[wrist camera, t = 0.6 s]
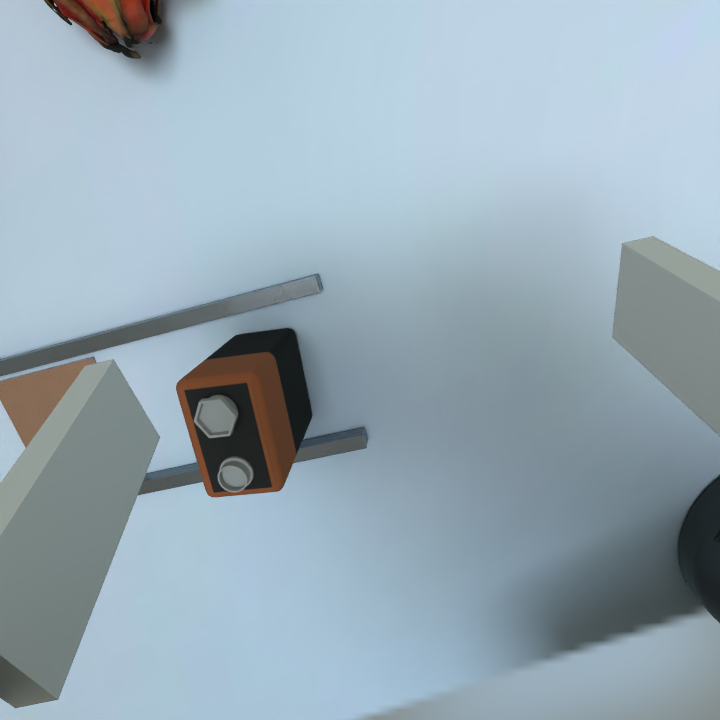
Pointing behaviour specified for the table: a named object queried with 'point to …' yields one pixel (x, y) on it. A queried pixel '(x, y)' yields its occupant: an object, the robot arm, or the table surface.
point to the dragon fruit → (112, 20)
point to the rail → (47, 387)
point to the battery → (247, 412)
